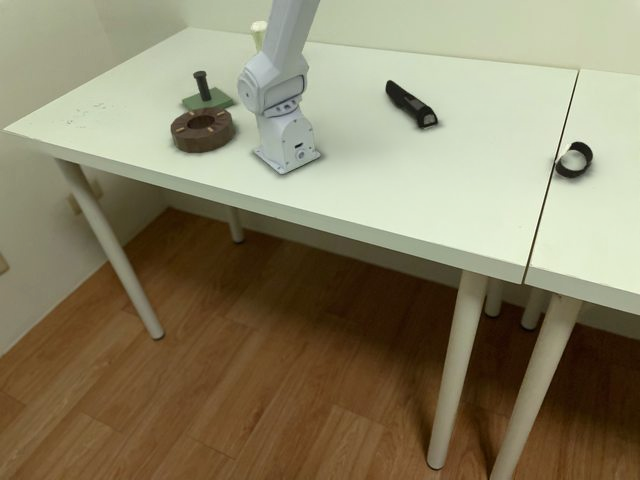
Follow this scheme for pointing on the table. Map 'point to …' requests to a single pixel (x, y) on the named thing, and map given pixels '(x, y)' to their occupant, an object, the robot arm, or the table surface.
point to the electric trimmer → (411, 105)
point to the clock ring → (202, 129)
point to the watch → (580, 148)
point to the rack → (206, 95)
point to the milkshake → (258, 33)
